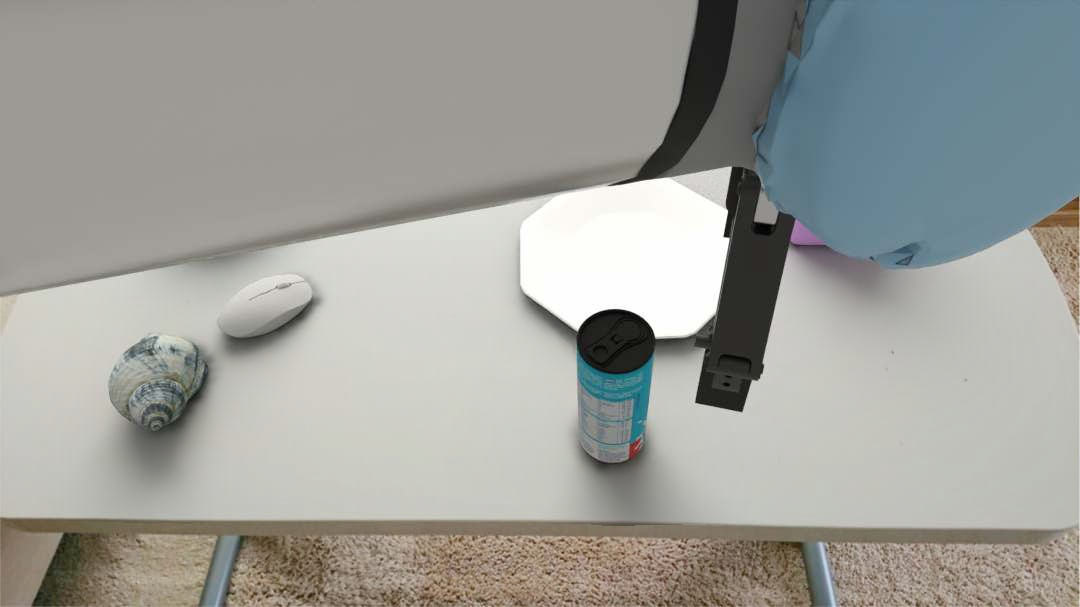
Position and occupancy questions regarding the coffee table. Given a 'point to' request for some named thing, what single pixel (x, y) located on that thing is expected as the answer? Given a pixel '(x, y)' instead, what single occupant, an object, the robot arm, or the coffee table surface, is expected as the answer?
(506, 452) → the coffee table surface
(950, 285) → the coffee table surface
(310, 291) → the computer mouse
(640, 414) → the beverage can
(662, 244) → the plate
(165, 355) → the seashell
